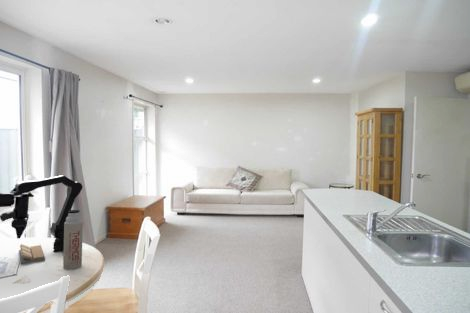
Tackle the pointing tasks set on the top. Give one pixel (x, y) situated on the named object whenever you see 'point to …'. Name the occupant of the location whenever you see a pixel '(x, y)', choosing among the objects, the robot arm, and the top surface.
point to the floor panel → (33, 255)
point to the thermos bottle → (73, 241)
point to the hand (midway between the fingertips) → (19, 235)
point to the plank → (25, 251)
